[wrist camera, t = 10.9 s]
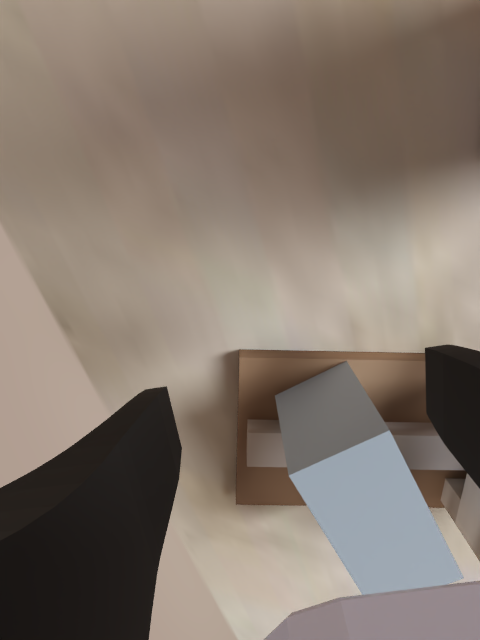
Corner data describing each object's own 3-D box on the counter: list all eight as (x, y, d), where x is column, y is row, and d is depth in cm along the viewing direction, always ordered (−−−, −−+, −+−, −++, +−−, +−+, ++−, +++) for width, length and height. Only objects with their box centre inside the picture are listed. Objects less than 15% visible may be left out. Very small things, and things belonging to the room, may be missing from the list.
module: (346, 360, 20) (389, 430, 14) (409, 485, 22) (468, 587, 17) (274, 395, 21) (288, 475, 15) (344, 513, 23) (378, 621, 17)
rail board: (565, 356, 21) (716, 434, 14) (523, 496, 24) (633, 615, 17) (239, 349, 21) (239, 425, 14) (236, 491, 24) (235, 610, 17)
